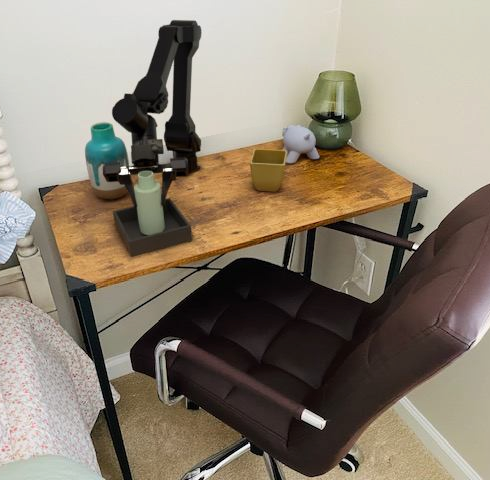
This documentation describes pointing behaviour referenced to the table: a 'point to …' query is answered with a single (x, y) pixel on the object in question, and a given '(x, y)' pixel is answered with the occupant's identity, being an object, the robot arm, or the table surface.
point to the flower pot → (267, 169)
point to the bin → (140, 243)
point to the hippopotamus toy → (299, 143)
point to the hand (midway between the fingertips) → (149, 206)
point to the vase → (105, 159)
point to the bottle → (149, 204)
